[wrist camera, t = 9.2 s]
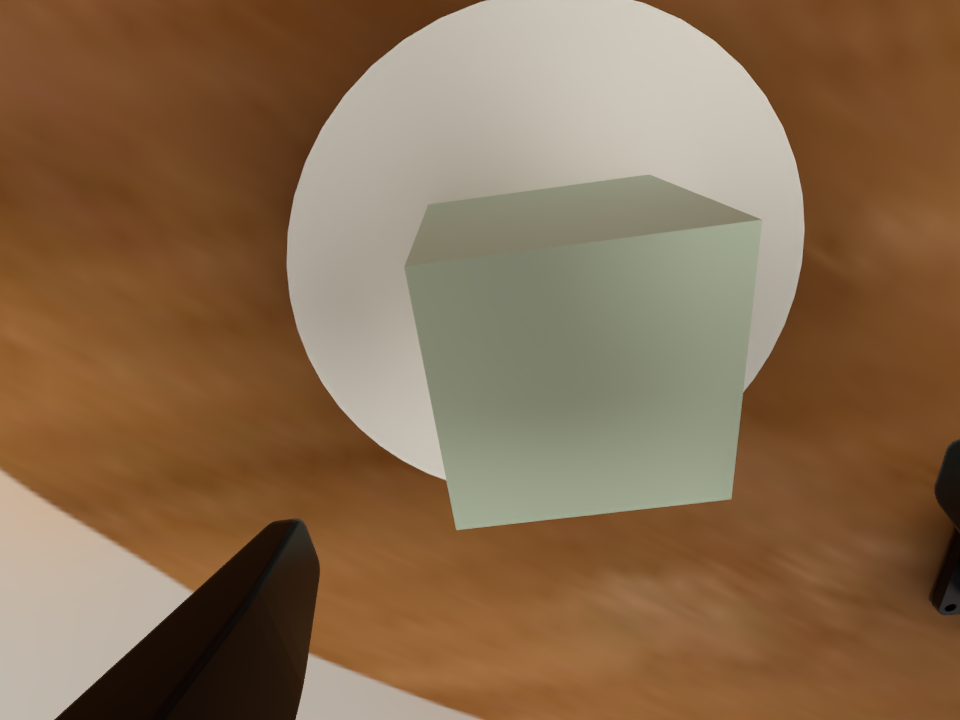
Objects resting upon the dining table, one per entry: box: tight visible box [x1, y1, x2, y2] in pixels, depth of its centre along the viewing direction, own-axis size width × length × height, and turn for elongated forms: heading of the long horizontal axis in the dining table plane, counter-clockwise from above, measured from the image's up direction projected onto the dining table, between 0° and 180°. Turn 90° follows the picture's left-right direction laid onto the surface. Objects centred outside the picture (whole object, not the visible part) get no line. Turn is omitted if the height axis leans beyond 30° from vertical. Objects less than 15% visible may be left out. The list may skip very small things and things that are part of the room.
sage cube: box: [404, 174, 762, 530], centre depth 13 cm, size 6×6×6 cm
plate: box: [287, 0, 805, 480], centre depth 16 cm, size 15×15×2 cm
